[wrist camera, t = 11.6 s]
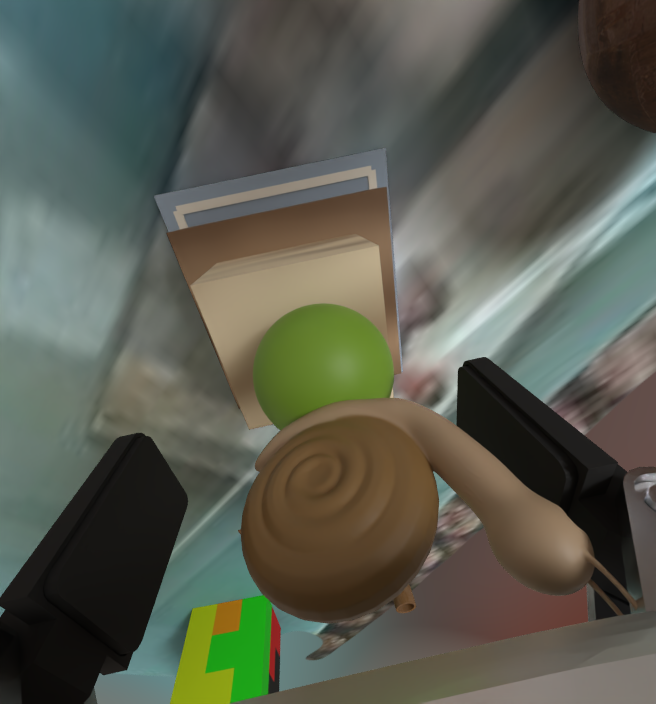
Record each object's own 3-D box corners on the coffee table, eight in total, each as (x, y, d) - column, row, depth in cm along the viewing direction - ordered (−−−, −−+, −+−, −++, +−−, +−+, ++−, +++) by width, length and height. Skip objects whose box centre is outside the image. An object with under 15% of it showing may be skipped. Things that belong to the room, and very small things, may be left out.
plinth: (184, 228, 18) (117, 245, 11) (373, 188, 19) (423, 181, 11) (244, 385, 24) (225, 463, 17) (389, 354, 24) (430, 417, 17)
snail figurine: (404, 361, 15) (672, 741, 5) (288, 405, 16) (284, 847, 5) (376, 259, 13) (829, 573, 2) (238, 314, 13) (9, 816, 2)
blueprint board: (159, 195, 18) (152, 195, 17) (381, 149, 18) (386, 147, 18) (241, 401, 26) (240, 408, 25) (399, 367, 26) (403, 372, 25)
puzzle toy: (214, 640, 44) (195, 749, 36) (192, 608, 40) (164, 724, 31) (280, 626, 45) (278, 731, 36) (267, 594, 40) (260, 705, 31)
